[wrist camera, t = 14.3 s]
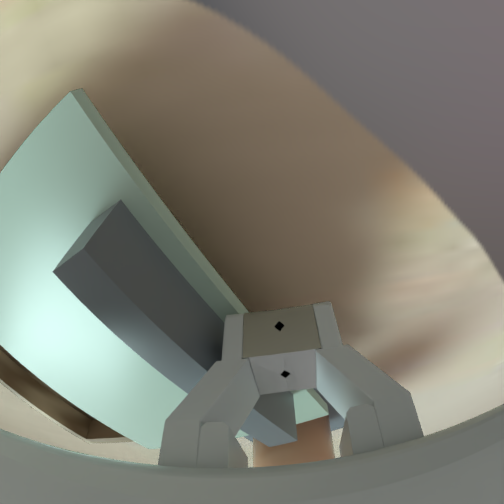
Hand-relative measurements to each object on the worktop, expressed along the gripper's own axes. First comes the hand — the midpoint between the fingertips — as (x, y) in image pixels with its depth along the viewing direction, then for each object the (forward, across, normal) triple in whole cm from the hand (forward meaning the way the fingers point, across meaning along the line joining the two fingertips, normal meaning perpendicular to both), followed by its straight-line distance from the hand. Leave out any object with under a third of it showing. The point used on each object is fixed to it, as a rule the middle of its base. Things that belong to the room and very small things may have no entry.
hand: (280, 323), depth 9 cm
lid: (+1, +7, +2) cm, 7 cm away
